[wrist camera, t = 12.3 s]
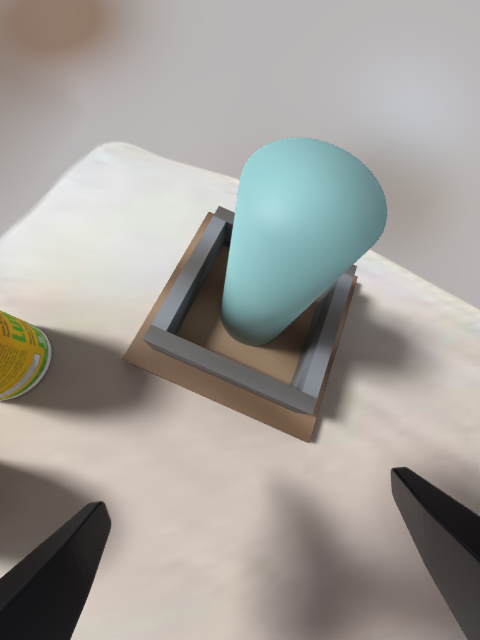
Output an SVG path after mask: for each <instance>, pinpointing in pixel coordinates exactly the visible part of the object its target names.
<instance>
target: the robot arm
mask: <svg viewBox="0 0 480 640" xmlns="http://www.w3.org/2000/svg"><path fill="white" fill-rule="evenodd" d="M391 486H392V494H393V497H394V500H395V502H396V504H397V506H398V509H399V511H400V513H401V515H402V517H403V519H404V521H405V523H406V526H407V528H408V530H409V532H410V534H411V536H412V538H413V541H414V543H415V545H416V547H417V549H418V551H419V553H420V555H421V557H422V559H423V562H424V564H425V565H426V567H427V569H428V571H429V573H430V575H431V576H432V578H433V580H434V582H435V583H436V585H437V587H438V589H439V590H440V592H441V594H442V596H443V597H444V599H445V601H446V603H447V604H448V606H449V608H450V610H451V611H452V613H453V615H454V617H455V618H456V620H457V622H458V624H459V625H460V627H461V629H462V631H463V632H464V634H465V636H466V638H467V639H468V640H480V516H479V515H477V514H476V513H474V512H473V511H471V510H470V509H468V508H467V507H465V506H464V505H462V504H461V503H459V502H458V501H456V500H455V499H453V498H452V497H450V496H449V495H447V494H446V493H444V492H443V491H442V490H440V489H439V488H437V487H436V486H434V485H433V484H431V483H430V482H428V481H427V480H425V479H424V478H422V477H421V476H419V475H418V474H416V473H415V472H413V471H412V470H410V469H409V468H407V467H397V468H392V469H391ZM110 529H111V519H110V516H109V513H108V511H107V508H106V505H105V503H104V502H103V501H98V502H91V503H89V504H88V505H86V506H85V507H84V508H83V509H82V510H80V511H79V512H78V513H77V514H76V515H75V516H73V517H72V518H71V519H70V520H69V521H68V522H66V523H65V524H64V525H63V526H62V527H60V528H59V529H58V530H57V531H56V532H55V533H53V534H52V535H51V536H50V537H49V538H47V539H46V540H45V541H44V542H43V543H42V544H40V545H39V546H38V547H37V548H36V549H34V550H33V551H32V552H31V553H30V554H29V555H27V556H26V557H25V558H24V559H23V560H22V561H20V562H19V563H18V564H17V565H16V566H14V567H13V568H12V569H11V570H10V571H9V572H7V573H6V574H5V575H4V576H3V577H1V578H0V640H70V639H71V637H72V634H73V632H74V629H75V627H76V624H77V622H78V620H79V617H80V615H81V612H82V610H83V607H84V605H85V602H86V600H87V597H88V595H89V592H90V589H91V587H92V584H93V581H94V578H95V575H96V572H97V569H98V566H99V563H100V560H101V557H102V554H103V551H104V548H105V545H106V542H107V539H108V536H109V533H110Z"/></svg>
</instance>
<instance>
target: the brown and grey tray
mask: <svg viewBox="0 0 480 640" xmlns="http://www.w3.org/2000/svg"><path fill="white" fill-rule="evenodd" d="M234 217H235V213H234V212H232V211H229V210H227V209H225V208H223V207H220V206H219V207H218V209H217V210H216V212H215V214H213V213H211V212H208V214H207V216H206V217H205V219H204V221H203V223H202V224H201V226H200V228H199V229H198V231H197V233H196V234H195V236H194V238H193V240H192V241H191V243H190V245H189V246H188V248H187V250H186V252H185V253H184V255H183V257H182V258H181V260H180V262H179V263H178V265H177V267H176V269H175V270H174V272H173V274H172V275H171V277H170V279H169V280H168V282H167V284H166V286H165V287H164V289H163V291H162V292H161V294H160V296H159V298H158V299H157V301H156V303H155V304H154V306H153V308H152V309H151V311H150V313H149V315H148V316H147V318H146V320H145V321H144V323H143V325H142V327H141V328H140V330H139V332H138V333H137V335H136V337H135V338H134V340H133V342H132V344H131V345H130V347H129V349H128V350H127V352H126V354H125V356H124V357H123V359H122V360H124V361H126V362H128V363H130V364H133V365H135V366H137V367H139V368H142V369H144V370H146V371H148V372H151V373H153V374H155V375H157V376H160V377H162V378H164V379H166V380H168V381H171V382H173V383H175V384H177V385H180V386H182V387H184V388H186V389H189V390H191V391H193V392H195V393H198V394H200V395H202V396H204V397H206V398H209V399H211V400H213V401H215V402H218V403H220V404H222V405H224V406H227V407H229V408H231V409H233V410H236V411H238V412H240V413H242V414H244V415H247V416H249V417H251V418H253V419H256V420H258V421H260V422H262V423H265V424H267V425H269V426H271V427H274V428H276V429H278V430H280V431H282V432H285V433H287V434H289V435H291V436H294V437H296V438H298V439H300V440H303V441H305V442H307V443H309V442H310V438H311V435H312V431H313V428H314V424H315V421H316V418H317V414H318V411H319V407H320V404H321V401H322V397H323V394H324V390H325V387H326V384H327V380H328V377H329V373H330V370H331V366H332V363H333V360H334V356H335V353H336V349H337V346H338V343H339V339H340V336H341V332H342V329H343V326H344V322H345V319H346V315H347V312H348V308H349V305H350V302H351V298H352V295H353V291H354V288H355V285H356V281H357V278H358V277H357V276H355V275H354V274H355V271H356V268H357V266H355V265H352V266H351V267H350V268H349V269H348V270H347V271H346V272H345V273H343V274H342V275H341V276H340V277H339V278H338V279H337V280H336V281H335V282H334V283H333V284H332V285H331V286H330V287H329V288H328V289H327V290H326V291H324V292H323V293H322V294H321V295H320V296H319V297H318V298H317V299H316V300H315V301H314V302H313V303H312V304H311V305H310V306H309V307H308V308H307V309H305V310H304V311H303V312H302V313H301V314H300V315H299V316H298V317H297V318H296V319H295V320H294V321H293V322H292V323H291V324H290V325H289V326H288V327H286V328H285V329H284V330H283V331H282V332H281V333H280V334H279V335H278V336H277V337H276V338H275V339H274V340H272V341H271V342H269V343H267V344H264V345H259V346H249V345H245V344H242V343H240V342H238V341H236V340H235V339H233V338H232V337H231V336H230V335H229V334H228V333H227V331H226V330H225V328H224V326H223V324H222V321H221V305H222V299H223V292H224V285H225V278H226V271H227V264H228V258H229V251H230V244H231V237H232V230H233V224H234Z"/></svg>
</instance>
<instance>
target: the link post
mask: <svg viewBox="0 0 480 640" xmlns="http://www.w3.org/2000/svg"><path fill="white" fill-rule="evenodd" d="M386 219H387V205H386V199H385V196H384V193H383V190H382V188H381V186H380V184H379V182H378V181H377V179H376V178H375V176H374V175H373V174H372V173H371V171H370V170H369V169H368V168H367V167H366V166H365V165H364V164H363V163H362V162H361V161H360V160H359V159H357V158H356V157H355V156H353V155H352V154H350V153H349V152H347V151H345V150H344V149H342V148H340V147H338V146H335V145H333V144H330V143H328V142H324V141H320V140H317V139H311V138H286V139H281V140H277V141H274V142H271V143H269V144H266V145H265V146H263V147H261V148H260V149H259V150H257V151H256V152H255V153H254V154H253V155H252V156H251V157H250V158H249V160H248V161H247V162H246V164H245V166H244V168H243V170H242V174H241V177H240V183H239V190H238V196H237V203H236V210H235V217H234V224H233V230H232V237H231V244H230V251H229V258H228V264H227V271H226V278H225V285H224V292H223V299H222V305H221V321H222V324H223V326H224V328H225V330H226V331H227V333H228V334H229V335H230V336H231V337H232V338H233V339H235V340H236V341H238V342H240V343H242V344H245V345H249V346H259V345H264V344H267V343H269V342H271V341H272V340H274V339H275V338H276V337H277V336H278V335H279V334H280V333H281V332H282V331H283V330H284V329H285V328H286V327H288V326H289V325H290V324H291V323H292V322H293V321H294V320H295V319H296V318H297V317H298V316H299V315H300V314H301V313H302V312H303V311H304V310H305V309H307V308H308V307H309V306H310V305H311V304H312V303H313V302H314V301H315V300H316V299H317V298H318V297H319V296H320V295H321V294H322V293H323V292H324V291H326V290H327V289H328V288H329V287H330V286H331V285H332V284H333V283H334V282H335V281H336V280H337V279H338V278H339V277H340V276H341V275H342V274H343V273H345V272H346V271H347V270H348V269H349V268H350V267H351V266H352V265H353V264H354V263H355V262H356V261H357V260H358V259H359V258H360V257H361V256H362V255H364V254H365V253H366V252H367V251H368V250H369V249H370V248H371V247H372V246H373V245H374V244H375V243H376V242H377V240H378V239H379V238H380V236H381V234H382V233H383V231H384V227H385V225H386Z"/></svg>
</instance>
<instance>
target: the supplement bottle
mask: <svg viewBox="0 0 480 640" xmlns="http://www.w3.org/2000/svg"><path fill="white" fill-rule="evenodd" d="M50 360H51V345H50V342H49V340H48V338H47V336H46V335H45V334H44V333H43V332H42V331H41V330H40V329H39V328H37V327H35V326H34V325H31V324H29V323H27V322H25V321H23V320H21V319H18V318H16V317H14V316H11V315H9V314H7V313H5V312H2V311H0V401H2V400H8V399H12V398H15V397H17V396H20V395H22V394H24V393H26V392H27V391H29V390H30V389H32V388H33V387H34V386H35V385H36V384H37V383H38V382H39V381H40V380H41V379H42V377H43V376H44V375H45V373H46V371H47V369H48V367H49V364H50Z"/></svg>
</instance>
